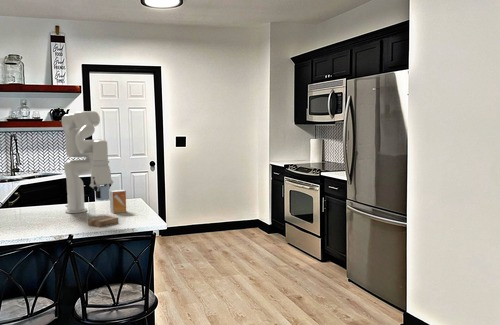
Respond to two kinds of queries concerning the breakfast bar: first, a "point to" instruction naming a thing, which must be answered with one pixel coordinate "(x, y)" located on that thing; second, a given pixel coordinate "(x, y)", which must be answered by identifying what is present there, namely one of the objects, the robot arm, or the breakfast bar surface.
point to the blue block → (103, 193)
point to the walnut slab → (103, 221)
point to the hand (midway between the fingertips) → (102, 197)
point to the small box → (118, 201)
